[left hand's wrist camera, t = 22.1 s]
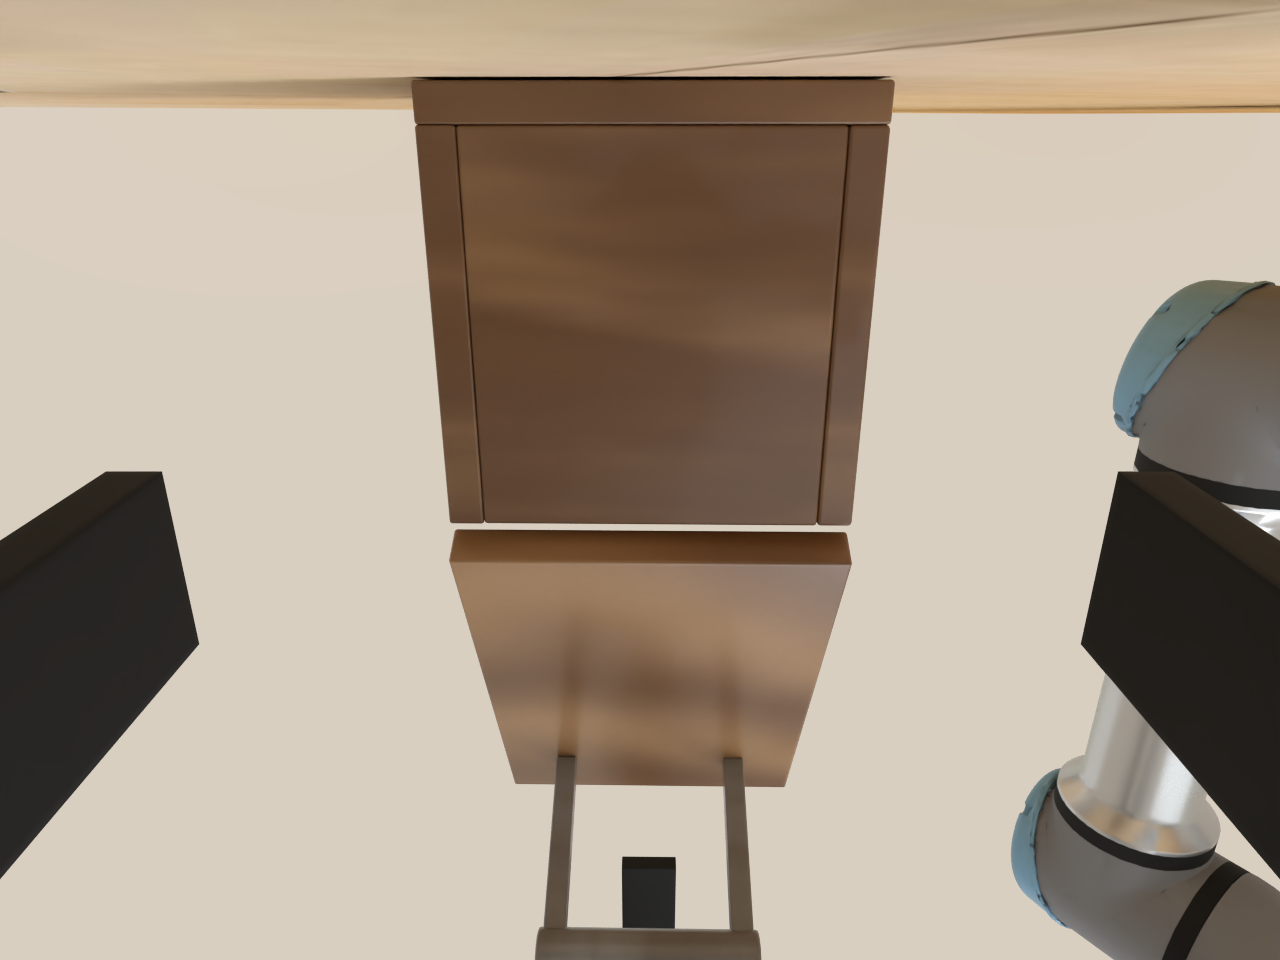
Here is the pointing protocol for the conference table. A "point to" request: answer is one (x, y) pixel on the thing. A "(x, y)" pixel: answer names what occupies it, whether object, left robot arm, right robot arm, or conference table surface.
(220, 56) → the conference table surface
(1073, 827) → the right robot arm
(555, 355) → the chest
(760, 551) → the lid
